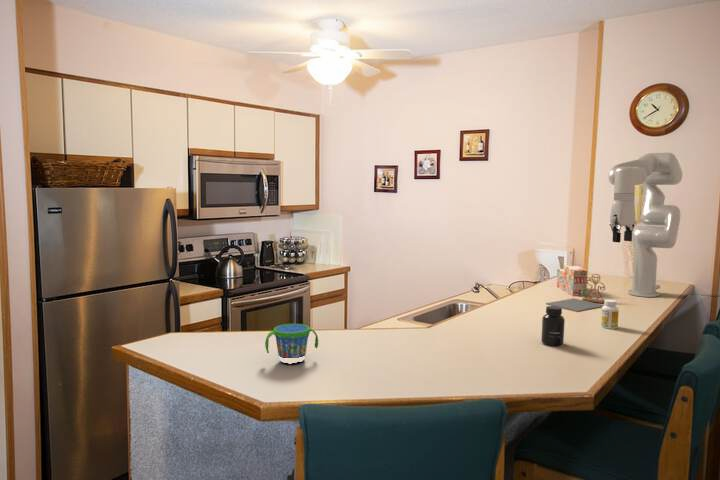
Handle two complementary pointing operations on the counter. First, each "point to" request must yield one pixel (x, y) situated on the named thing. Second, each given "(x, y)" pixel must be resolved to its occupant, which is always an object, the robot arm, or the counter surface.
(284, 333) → the snack cup
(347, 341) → the counter surface
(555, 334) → the supplement bottle
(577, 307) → the mat
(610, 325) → the supplement bottle
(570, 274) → the stack of blocks
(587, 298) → the gingerbread man figurine
